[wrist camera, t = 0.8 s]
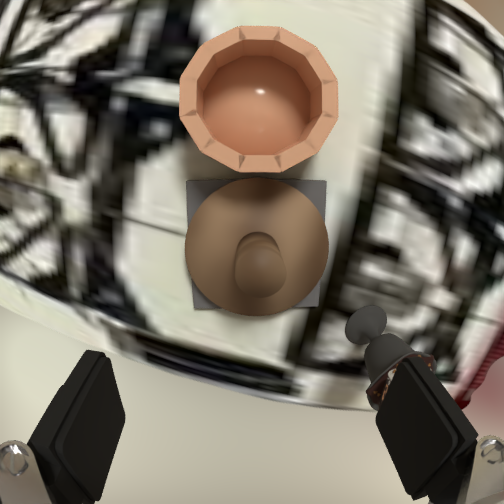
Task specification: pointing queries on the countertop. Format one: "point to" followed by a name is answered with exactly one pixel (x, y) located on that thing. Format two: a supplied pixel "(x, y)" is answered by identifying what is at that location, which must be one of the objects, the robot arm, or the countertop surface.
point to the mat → (205, 188)
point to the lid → (256, 246)
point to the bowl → (258, 99)
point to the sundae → (380, 350)
